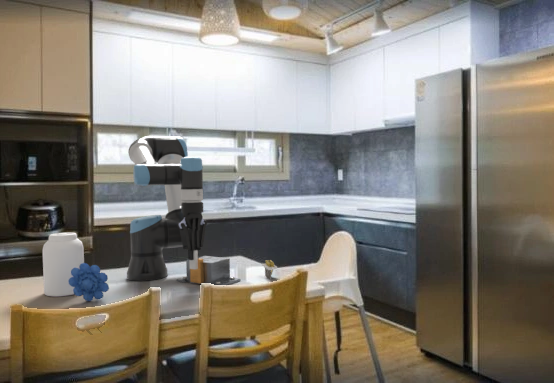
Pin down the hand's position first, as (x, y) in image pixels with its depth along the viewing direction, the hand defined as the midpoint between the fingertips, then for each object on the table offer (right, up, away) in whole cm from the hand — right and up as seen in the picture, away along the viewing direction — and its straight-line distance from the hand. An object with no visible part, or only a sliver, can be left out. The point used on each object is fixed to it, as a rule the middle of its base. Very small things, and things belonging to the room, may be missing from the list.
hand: (193, 268), depth 156 cm
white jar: (-42, -7, -6) cm, 43 cm away
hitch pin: (+5, -5, +7) cm, 10 cm away
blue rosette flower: (-29, -7, -18) cm, 35 cm away
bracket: (+4, -6, +6) cm, 9 cm away
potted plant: (+27, -6, +10) cm, 29 cm away
